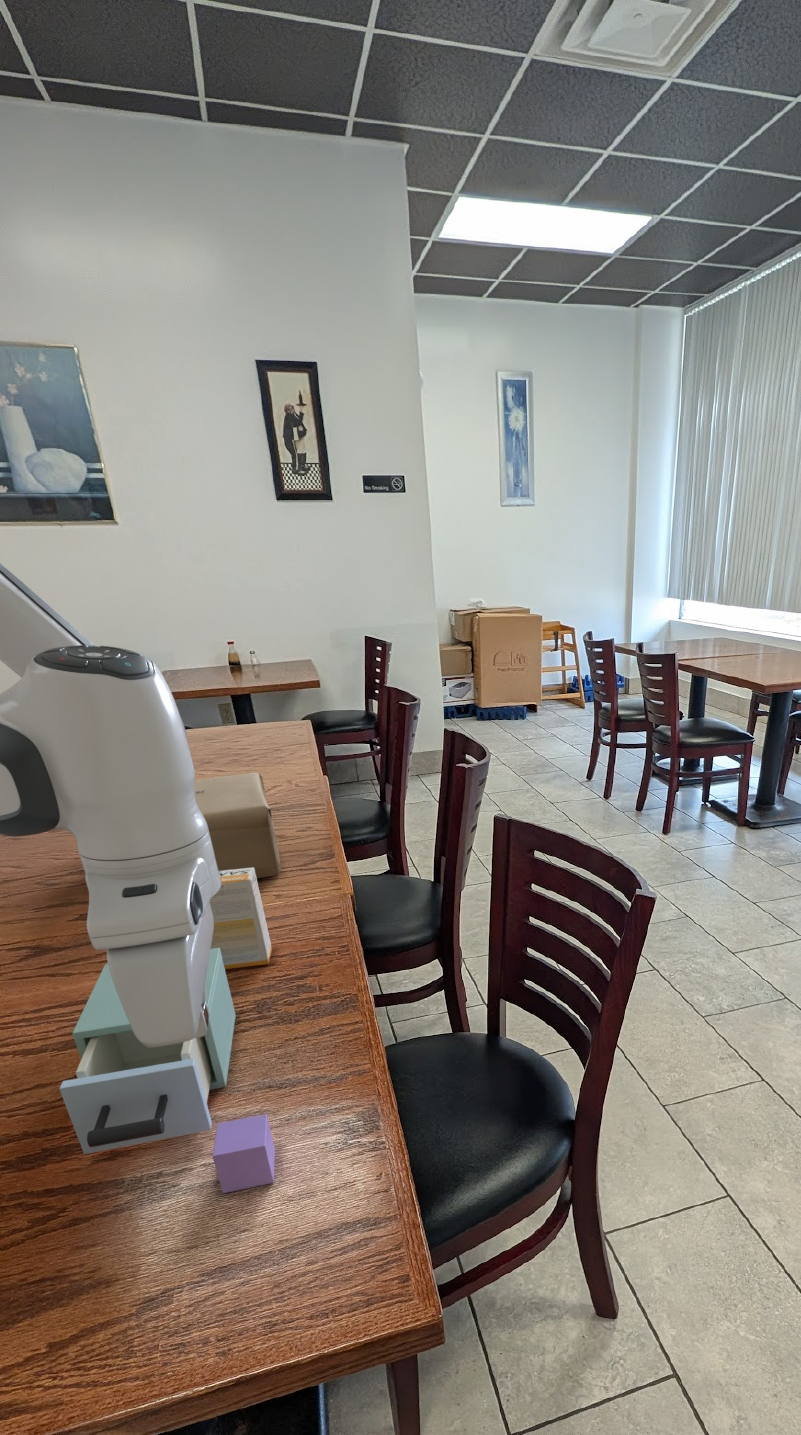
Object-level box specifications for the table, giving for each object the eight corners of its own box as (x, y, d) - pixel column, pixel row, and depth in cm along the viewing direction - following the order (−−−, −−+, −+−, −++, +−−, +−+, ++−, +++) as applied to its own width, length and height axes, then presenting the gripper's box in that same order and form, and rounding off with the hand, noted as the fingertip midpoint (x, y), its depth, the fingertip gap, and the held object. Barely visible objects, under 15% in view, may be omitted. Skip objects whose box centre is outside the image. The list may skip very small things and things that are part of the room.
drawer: (205, 1165, 69) (186, 1098, 66) (70, 1192, 67) (42, 1124, 63) (222, 1051, 85) (208, 992, 82) (114, 1070, 83) (94, 1010, 79)
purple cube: (222, 1193, 67) (212, 1156, 65) (226, 1159, 71) (217, 1123, 69) (273, 1182, 68) (264, 1145, 66) (275, 1149, 72) (266, 1113, 70)
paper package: (119, 907, 124) (95, 827, 118) (129, 856, 146) (110, 786, 140) (286, 879, 133) (272, 803, 127) (273, 835, 155) (260, 768, 148)
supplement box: (273, 949, 109) (256, 865, 103) (269, 965, 105) (251, 879, 99) (213, 955, 108) (193, 871, 102) (207, 972, 104) (185, 885, 98)
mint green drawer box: (226, 1086, 81) (206, 1011, 77) (99, 1109, 78) (71, 1033, 74) (235, 1015, 94) (219, 947, 90) (126, 1032, 91) (105, 963, 87)
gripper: (132, 837, 65) (172, 975, 71) (79, 940, 47) (138, 1113, 53) (209, 827, 66) (241, 963, 72) (186, 924, 49) (232, 1093, 55)
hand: (198, 1028), depth 63 cm, fingers closed
